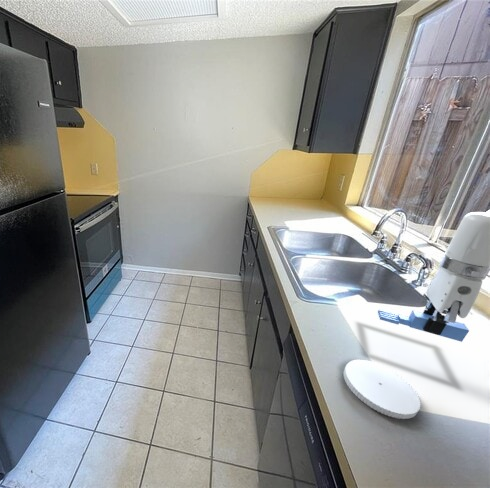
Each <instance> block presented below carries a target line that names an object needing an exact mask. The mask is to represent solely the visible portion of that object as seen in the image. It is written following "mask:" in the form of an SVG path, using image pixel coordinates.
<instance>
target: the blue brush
mask: <svg viewBox="0 0 490 488" xmlns="http://www.w3.org/2000/svg"><path fill="white" fill-rule="evenodd" d="M377 315H378V318H379V320H380V321H384V322H388V323H390V324H394V325H399V324H400V325H403V326H406V327H409V328H412V329H415V330H418V331H422V332H425V331H424V330H423V328H424V326H425V324H426V322H427V321H428V319H429V317H430V318H432V315H428V314H424V313H423V312H420V311H416V310H412V311H411V312H410V315H409V316H407V315H403V314H399V313H398V314H397V313H393V312H390V311H386V310H382V309H378V310H377ZM469 332H470V330H469V328H468V327H467V326H466V324H465V323H462V322H459V321H455V323H451V322H449V323H448V324H446V326H445V328H444V329H443V331H442V333H441V334H440V335H438V336H439V337H443V338H447V339H450V340H453V341H458V342H460V343H461V342H463V341H464V339H465V338H466V336H467V335H468V334H469Z"/></svg>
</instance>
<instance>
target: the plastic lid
mask: <svg viewBox="0 0 490 488" xmlns="http://www.w3.org/2000/svg"><path fill="white" fill-rule="evenodd" d="M342 376H343V379H344V382H345V384H346V386H347V387H348V389H349V390H350V391H351V392H352V394H354V395H355V397H357V399H358V400H360V402H363V404H365V405H366V406H367V407H370V409H373V410H374V411H377V412H378V413H381V414H382V415H384V416H388V417H389V418H390V417H391V418H394V419H398V420H400V419H401V420H406V419H407V420H409V419H411V418H414V417H416V415H417V414H418V412H419V411H420V410H421V407H422V405H421V399H420V397H419V395H418V393H417V391H416V390H415V389H414V388H413V386H411V383H408V381H407V380H405V379H404V378H403V377H402V376H400V375H399V374H398V373H397V372H394V371H393V370H391V369H390V368H388V367H386V366H384V365H382V364H379V363H377V362H374V361H370V360H367V359H353V360H350V361H348V362H347V363H346V365H345V367H344V369H343V375H342Z"/></svg>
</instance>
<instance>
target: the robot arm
mask: <svg viewBox="0 0 490 488" xmlns="http://www.w3.org/2000/svg"><path fill="white" fill-rule="evenodd" d="M489 273H490V209H489V210H487V211H486V212H485V211H484V212H483V211H472V212H469V213H467V214H465V215H464V216H463V217H462V219H461V221H460V222H459V225H458V227H457V229H456V231H455V232H454V234H453V236H452V238H451V240H450V242H449V244H448V246H447V248H446V250H445V252H444V254H443V256H442V258H441V260H440V262H439V264H438V269H437V271H436V272H435V274H434V276H433V278H432V279H431V281H430V283H429V285H428V287H427V289H426V296H427V298H428V302H427V303H426V305H425V308H424V310H423V312H422V313H424V314H428V315H432V318H430V317H429V319H428V321H427V322H426V324H425V326H424V328H423V330H424V331H423V332H425V333H429V334H432V335H436V336H439V335H440V334H441V333H442V331H443V329H444V328H445V326H446V324H448V323H449V322H451V323H455V322H457V318H458V317H459V318H461V319H465V318H467V317H468V316H469V314H470V311H471V310H472V308H473V306H474V304H475V302H476V301H477V299H478V296H479V294H480V291H481V289H482V285H483V280H486V278H487V276H488V274H489ZM457 316H458V317H457Z"/></svg>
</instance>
